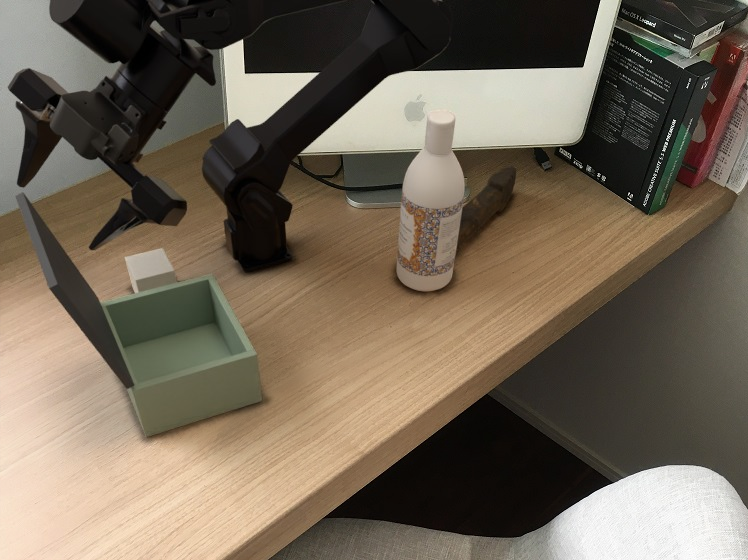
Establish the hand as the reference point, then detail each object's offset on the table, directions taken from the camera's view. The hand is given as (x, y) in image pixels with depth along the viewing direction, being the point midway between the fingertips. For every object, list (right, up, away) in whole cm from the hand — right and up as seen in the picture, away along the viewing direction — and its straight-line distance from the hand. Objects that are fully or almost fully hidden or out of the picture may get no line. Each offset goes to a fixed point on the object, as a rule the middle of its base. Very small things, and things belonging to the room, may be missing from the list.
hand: (56, 218), depth 81 cm
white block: (+7, -5, +12) cm, 14 cm away
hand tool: (+46, +7, +23) cm, 52 cm away
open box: (+12, -16, +4) cm, 20 cm away
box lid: (+6, -10, -9) cm, 15 cm away
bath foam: (+39, -1, +16) cm, 42 cm away
